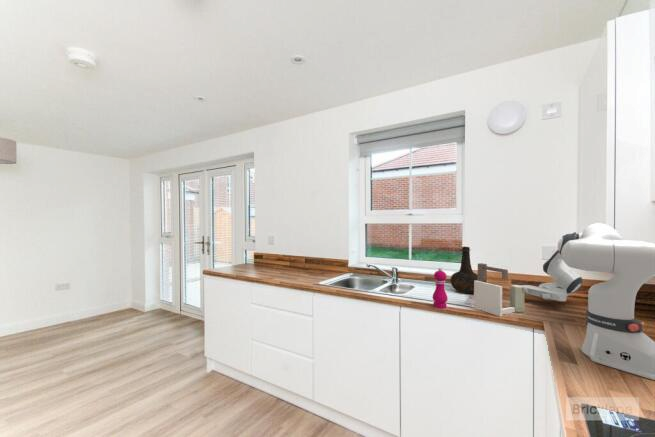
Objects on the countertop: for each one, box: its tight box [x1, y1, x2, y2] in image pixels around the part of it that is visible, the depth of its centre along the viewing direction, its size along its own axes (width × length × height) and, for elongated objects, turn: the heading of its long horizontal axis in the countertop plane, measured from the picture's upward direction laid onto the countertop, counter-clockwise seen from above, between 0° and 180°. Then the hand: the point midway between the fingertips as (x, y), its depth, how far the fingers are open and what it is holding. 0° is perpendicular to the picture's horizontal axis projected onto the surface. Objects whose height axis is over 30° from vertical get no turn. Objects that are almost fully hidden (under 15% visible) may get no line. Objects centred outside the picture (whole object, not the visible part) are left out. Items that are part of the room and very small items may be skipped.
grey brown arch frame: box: [477, 262, 509, 283], centre depth 148 cm, size 14×3×22 cm, turn 25°
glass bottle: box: [450, 246, 478, 295], centre depth 182 cm, size 18×18×28 cm
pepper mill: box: [432, 267, 448, 309], centre depth 152 cm, size 7×7×20 cm
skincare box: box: [509, 284, 526, 313], centre depth 147 cm, size 6×4×12 cm
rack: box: [473, 281, 516, 318], centre depth 146 cm, size 14×12×14 cm
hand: (532, 293), depth 152 cm, fingers open, 8 cm apart
